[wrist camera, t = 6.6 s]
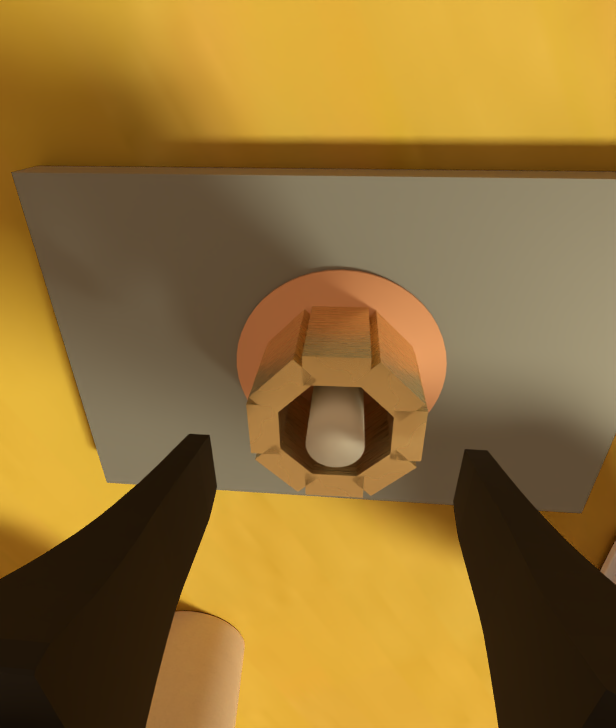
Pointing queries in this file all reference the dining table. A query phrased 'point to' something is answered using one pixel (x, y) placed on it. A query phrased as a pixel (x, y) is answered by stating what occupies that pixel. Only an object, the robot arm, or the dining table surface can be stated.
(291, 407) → the wooden collar
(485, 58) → the dining table surface
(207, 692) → the coffee cup
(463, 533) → the robot arm
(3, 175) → the dining table surface
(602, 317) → the post board
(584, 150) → the dining table surface
